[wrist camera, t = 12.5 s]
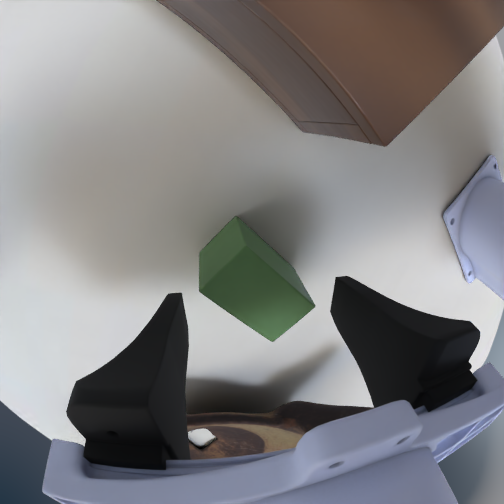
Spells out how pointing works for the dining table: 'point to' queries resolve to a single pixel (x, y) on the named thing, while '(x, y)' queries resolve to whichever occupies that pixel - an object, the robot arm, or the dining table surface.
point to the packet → (252, 281)
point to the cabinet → (348, 55)
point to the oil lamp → (262, 428)
